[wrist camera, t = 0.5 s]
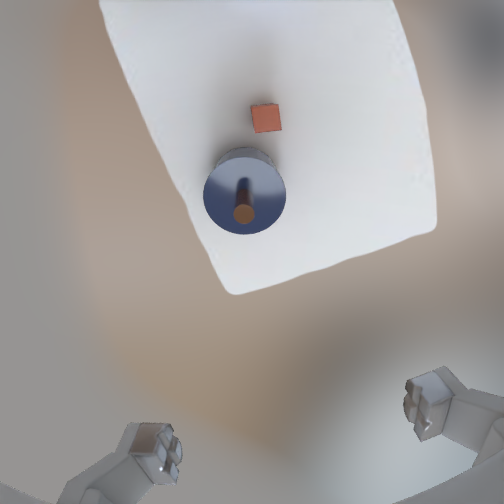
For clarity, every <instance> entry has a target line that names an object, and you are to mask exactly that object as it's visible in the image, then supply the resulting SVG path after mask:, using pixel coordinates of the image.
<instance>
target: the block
mask: <svg viewBox="0 0 504 504" xmlns="http://www.w3.org/2000/svg"><path fill="white" fill-rule="evenodd" d="M251 112H252V119H253V125H254V131H255V133H261V132H269V131H277V130H282V128H281V121H280V113H279V106H278V104H274V103H269V104H261V105H253V106H251Z"/></svg>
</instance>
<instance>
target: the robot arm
mask: <svg viewBox="0 0 504 504" xmlns="http://www.w3.org/2000/svg"><path fill="white" fill-rule="evenodd" d="M405 389H406V390H407V392H408V393H407V395H406V396H405V397H404V404H403V406H404V412H405V415H406V417H407V419H408V421H409V422H411V423H414V424H415V425H414V431H415V433H416V435H417V436H418V438H419V440H420V441H421V442H422V441H424V440H427V439H430V438H432V437H435V436H437V435H439V434H442V435H444V436H445V437H447V438H449V439H451V440H453V441H455V442H457V443H459V444H461V445H463V446H465V447H467V448H469V449H471V450H473V451H475V452H477V453H479V454H478V456H477V457H476V459H475V461H474V463H473V466H472V468H470V469H469V470H467V471H465V472H463V473H461V474H459V475H457V476H455V477H454V478H452V479H450V480H448V481H446V482H443V483H442V484H439V485H437V486H435V487H433V488H431V489H428V490H426V491H424V492H421V493H419V494H417V495H414V496H412V497H409V498H407V499H404V500H401V501H399V502H396V503H393V504H504V397H500V396H497V395H493V394H489V393H485V392H482V391H478V390H475V389H469V390H467V388H466V387H465V386H464V385H463V384H462V383H461V382H460V381H459V380H458V379H457V378H456V377H455V376H454V374H453V373H452V372H451V371H450V370H449V369H448V368H447V367H446V366H442V367H440V368H437V369H435V370H432V371H430V372H428V373H425V374H422V375H420V376H417V377H414V378H412V379H409V380H407V382H406V386H405ZM173 432H174V430H173V428H172V426H171V424H168V423H132V422H131V423H129V424H128V425H127V427H126V429H125V431H124V434H123V436H122V438H121V440H120V442H119V445H118V447H117V449H116V451H115V453H110V454H109V455H107V456H106V457H104V458H103V459H101V460H100V461H98V462H97V463H95V464H94V465H92V466H91V467H89V468H88V469H87V470H85V471H83V472H82V473H80V474H79V475H78V476H76V477H74V478H73V479H71V480H70V481H68V482H67V484H66V485H65V488H64V489H63V492H62V493H61V495H60V498H59V499H58V502H57V504H137V502H138V501H140V500H141V499H142V497H143V496H144V495H145V494H146V493H147V492H148V491H149V490H150V489H151V488H152V487H153V486H154V484H160V485H176V483H177V478H178V474H179V470H178V468H177V467H176V466H177V465H178V464H179V463H180V462H181V460H182V446H181V443H180V441H179V439H178V438H177V437H175V436H173ZM0 504H51V503H48V502H45V501H43V500H41V499H38V498H35V497H33V496H31V495H28V494H26V493H24V492H21V491H19V490H17V489H15V488H13V487H11V486H9V485H7V484H5V483H3V482H1V481H0Z"/></svg>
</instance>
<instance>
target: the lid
mask: <svg viewBox="0 0 504 504" xmlns="http://www.w3.org/2000/svg"><path fill="white" fill-rule="evenodd" d="M203 200H204V205H205V208H206V211H207V213H208V215H209V216H210V218H211V219H212V220H213V221H214V222H215V223H216V224H217V225H218V226H219V227H221V228H223V229H224V230H226V231H229V232H232V233H236V234H243V235H244V234H254V233H258V232H260V231H263V230H265V229H267V228H268V227H270V226H271V225H272V224H273V223H274V222H275V221H276V220H277V219H278V218H279V216H280V215H281V213H282V211H283V209H284V206H285V201H286V190H285V186H284V183H283V180H282V178H281V176H280V175H279V173H278V172H277V171H276V169H275V168H273V167H272V166H271V165H270V164H268V163H267V162H265V161H263V160H261V159H258V158H255V157H249V156H239V157H234V158H231V159H228V160H226V161H224V162H222V163H221V164H219V165H218V166H217V167H216V168H215V169H214V170H213V171H212V172H211V173H210V175H209V176H208V179H207V181H206V183H205V186H204V191H203Z"/></svg>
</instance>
